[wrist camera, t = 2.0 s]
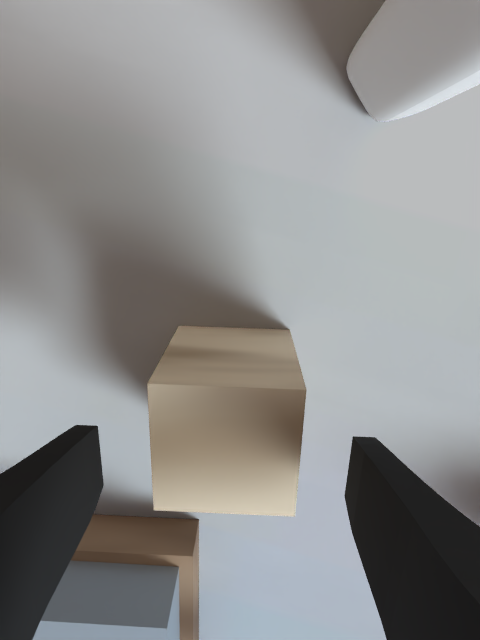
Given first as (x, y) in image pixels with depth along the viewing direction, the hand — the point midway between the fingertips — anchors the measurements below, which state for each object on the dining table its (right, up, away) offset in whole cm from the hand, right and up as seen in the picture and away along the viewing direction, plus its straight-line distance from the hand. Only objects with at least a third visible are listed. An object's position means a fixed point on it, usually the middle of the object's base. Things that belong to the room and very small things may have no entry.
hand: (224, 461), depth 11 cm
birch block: (0, +2, +5) cm, 5 cm away
